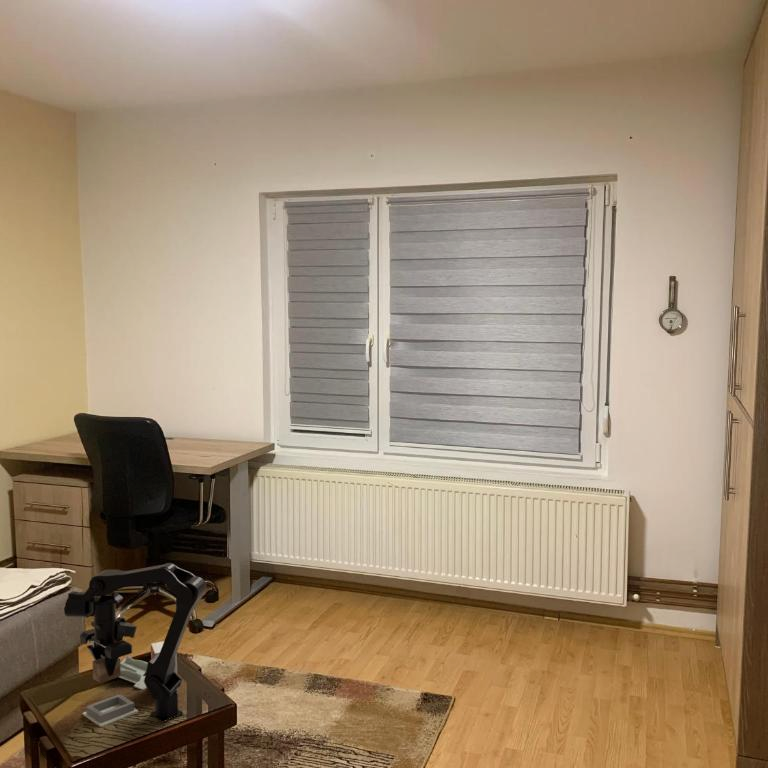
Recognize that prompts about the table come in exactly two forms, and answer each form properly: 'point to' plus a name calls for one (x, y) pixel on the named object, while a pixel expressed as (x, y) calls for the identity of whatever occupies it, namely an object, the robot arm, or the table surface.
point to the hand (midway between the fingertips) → (106, 673)
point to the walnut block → (104, 671)
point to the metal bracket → (133, 671)
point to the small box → (156, 650)
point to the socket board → (110, 710)
